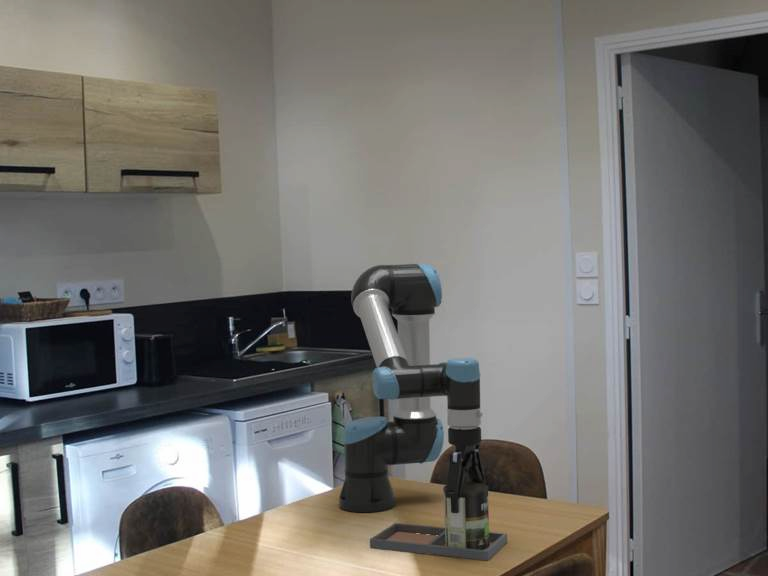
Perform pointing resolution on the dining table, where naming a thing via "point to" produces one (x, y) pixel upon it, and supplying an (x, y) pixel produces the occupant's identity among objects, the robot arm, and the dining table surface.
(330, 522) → the dining table surface
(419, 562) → the dining table surface
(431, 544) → the organiser
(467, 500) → the coffee can
